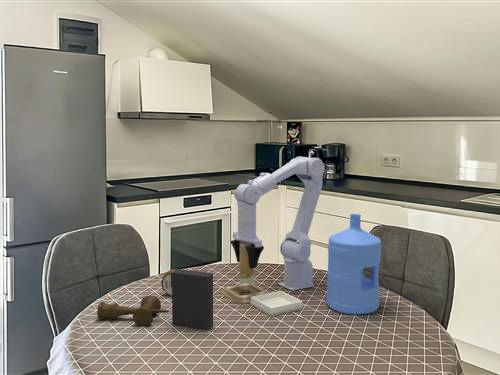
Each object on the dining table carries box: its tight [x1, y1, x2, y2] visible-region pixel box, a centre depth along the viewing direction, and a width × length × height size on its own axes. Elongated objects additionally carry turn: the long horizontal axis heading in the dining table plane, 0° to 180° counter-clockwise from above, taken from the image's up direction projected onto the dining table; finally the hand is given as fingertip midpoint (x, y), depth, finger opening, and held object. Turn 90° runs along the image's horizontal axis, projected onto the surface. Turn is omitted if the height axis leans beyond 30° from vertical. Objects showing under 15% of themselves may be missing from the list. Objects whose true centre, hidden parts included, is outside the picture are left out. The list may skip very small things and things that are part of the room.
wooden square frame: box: [221, 283, 270, 305], centre depth 160 cm, size 11×11×2 cm
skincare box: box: [239, 241, 255, 284], centre depth 158 cm, size 6×4×12 cm
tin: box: [160, 269, 202, 297], centre depth 159 cm, size 15×3×8 cm, turn 84°
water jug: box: [326, 213, 382, 315], centre depth 150 cm, size 16×16×28 cm
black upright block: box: [171, 268, 214, 331], centre depth 135 cm, size 11×4×15 cm, turn 71°
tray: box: [250, 290, 304, 318], centre depth 150 cm, size 11×11×2 cm
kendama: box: [96, 294, 170, 327], centre depth 140 cm, size 6×10×20 cm
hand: (246, 264), depth 158 cm, fingers closed on skincare box, 7 cm apart
